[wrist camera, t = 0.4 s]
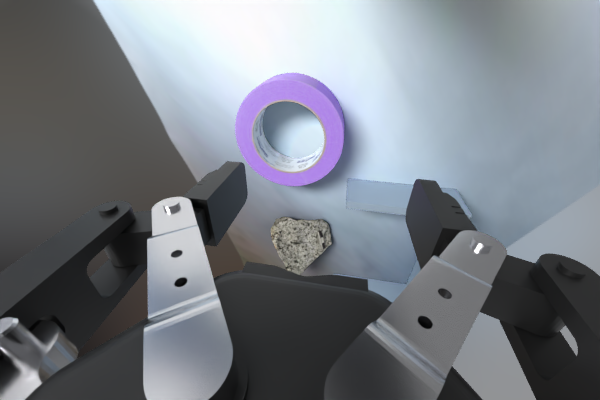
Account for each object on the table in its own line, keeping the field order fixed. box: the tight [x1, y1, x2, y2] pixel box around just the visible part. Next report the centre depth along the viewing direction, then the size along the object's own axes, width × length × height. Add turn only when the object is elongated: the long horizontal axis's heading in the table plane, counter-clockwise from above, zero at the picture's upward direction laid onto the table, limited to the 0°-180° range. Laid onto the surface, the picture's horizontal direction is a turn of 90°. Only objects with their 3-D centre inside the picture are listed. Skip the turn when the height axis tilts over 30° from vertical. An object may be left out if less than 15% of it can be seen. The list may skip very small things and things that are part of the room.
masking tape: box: [235, 73, 344, 186], centre depth 28 cm, size 12×12×4 cm
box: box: [334, 179, 472, 303], centre depth 35 cm, size 20×13×5 cm, turn 179°
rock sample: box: [271, 217, 332, 275], centre depth 37 cm, size 10×8×9 cm
